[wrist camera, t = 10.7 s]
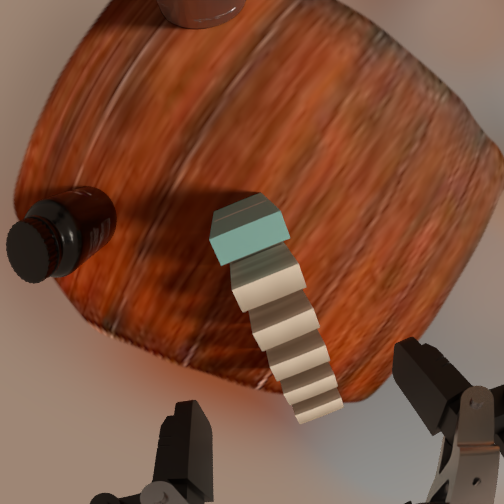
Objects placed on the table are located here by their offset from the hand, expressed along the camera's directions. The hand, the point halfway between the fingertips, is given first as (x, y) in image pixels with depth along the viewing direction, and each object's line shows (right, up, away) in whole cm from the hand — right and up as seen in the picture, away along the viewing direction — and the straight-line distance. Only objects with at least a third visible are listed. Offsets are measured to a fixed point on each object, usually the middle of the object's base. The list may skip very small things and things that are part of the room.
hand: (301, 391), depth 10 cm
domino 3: (0, +2, +21) cm, 21 cm away
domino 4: (+1, -1, +22) cm, 22 cm away
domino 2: (-2, +6, +20) cm, 21 cm away
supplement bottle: (-19, +9, +17) cm, 27 cm away
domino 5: (+3, -5, +24) cm, 24 cm away
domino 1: (-3, +9, +18) cm, 21 cm away
